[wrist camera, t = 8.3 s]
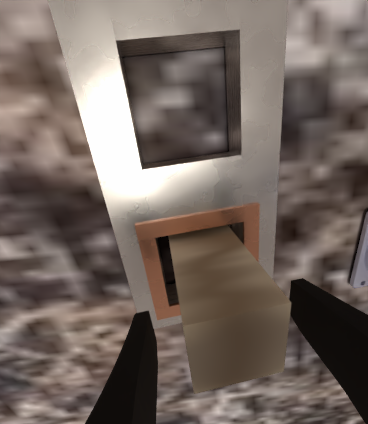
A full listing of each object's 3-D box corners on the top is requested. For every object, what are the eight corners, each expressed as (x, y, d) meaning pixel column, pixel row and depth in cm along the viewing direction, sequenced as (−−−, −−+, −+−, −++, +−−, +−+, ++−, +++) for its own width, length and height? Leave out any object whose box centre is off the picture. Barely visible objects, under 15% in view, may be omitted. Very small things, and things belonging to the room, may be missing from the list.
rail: (265, -6, 10) (293, -39, 8) (259, 285, 18) (273, 304, 16) (63, 9, 10) (39, -24, 8) (143, 309, 17) (142, 334, 15)
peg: (221, 217, 15) (291, 302, 7) (223, 263, 16) (283, 371, 9) (166, 226, 14) (182, 326, 7) (174, 272, 16) (194, 394, 9)
